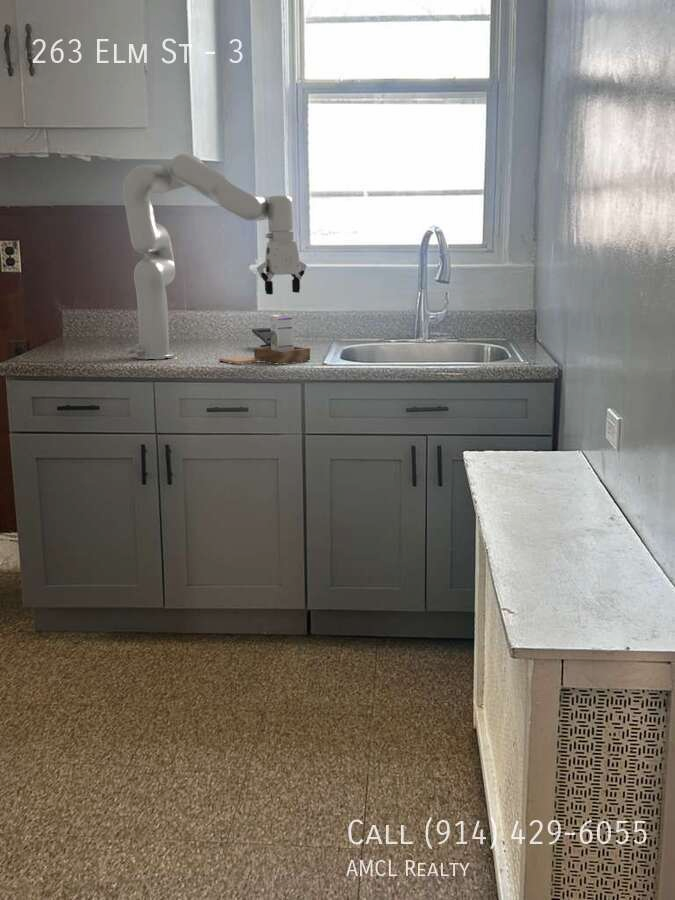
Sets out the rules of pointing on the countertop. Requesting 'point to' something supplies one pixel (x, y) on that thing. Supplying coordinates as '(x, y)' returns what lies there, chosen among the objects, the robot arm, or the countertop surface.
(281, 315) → the syrup box
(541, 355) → the countertop surface
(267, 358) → the walnut caddy
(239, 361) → the terracotta tile
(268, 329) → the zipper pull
